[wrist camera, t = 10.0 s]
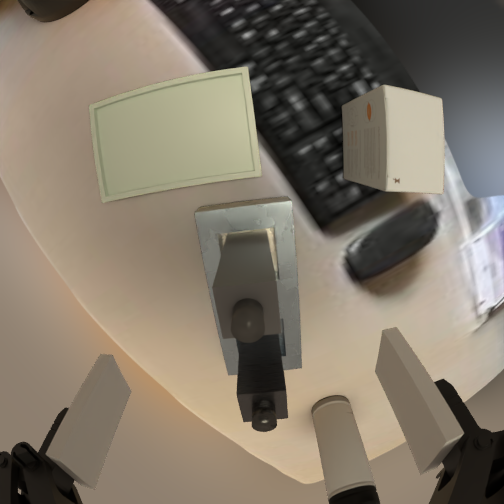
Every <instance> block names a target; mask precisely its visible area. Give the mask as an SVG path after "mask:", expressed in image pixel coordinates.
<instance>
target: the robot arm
mask: <svg viewBox="0 0 504 504" xmlns="http://www.w3.org/2000/svg"><path fill="white" fill-rule="evenodd" d="M86 1H88V0H18V2H19V3H20V5H21V6H22V8H23V9H24V10H25V12H26V13H27V14H28V15H29V16H30V17H32V18H34V19H36V20H38V21H41V22H49V21H54V20H57V19H59V18H61V17H64V16H66V15H67V14H69V13H71V12H73V11H74V10H76V9H77V8H79V7H80V6H81V5H83V4H84V3H85V2H86ZM375 372H376V374H377V376H378V378H379V381H380V383H381V385H382V387H383V389H384V391H385V393H386V395H387V398H388V400H389V402H390V404H391V406H392V409H393V411H394V413H395V415H396V417H397V420H398V422H399V424H400V427H401V429H402V431H403V433H404V436H405V438H406V440H407V443H408V445H409V448H410V450H411V452H412V454H413V457H414V459H415V462H416V465H417V467H418V470H419V472H420V474H421V475H422V474H424V473H427V472H429V471H431V470H434V469H436V468H437V467H438V466H439V465H440V463H441V462H442V463H443V465H444V468H443V469H442V470H441V471H440V472H439V473H438V475H437V476H436V478H439V477H440V478H439V481H438V483H437V486H436V488H435V491H434V493H433V495H432V498H431V500H430V502H429V504H504V430H503V431H498V432H493V433H492V432H491V431H489V430H486V429H481V428H480V427H479V426H478V425H477V423H476V421H475V420H474V418H473V417H472V415H471V413H470V412H469V410H468V409H467V407H466V406H465V404H464V402H462V399H461V398H460V396H459V395H458V393H457V392H456V390H455V389H454V387H453V386H452V385H451V384H450V383H449V382H447V381H446V380H444V379H441V380H439V381H436V382H433V380H432V379H431V377H430V376H429V374H428V372H427V371H426V369H425V368H424V366H423V365H422V363H421V362H420V360H419V359H418V357H417V356H416V354H415V353H414V351H413V350H412V348H411V347H410V346H409V344H408V343H407V341H406V340H405V338H404V337H403V335H402V334H401V333H400V331H399V330H398V328H397V327H395V328H390V329H386V330H382V337H381V343H380V348H379V354H378V359H377V364H376V369H375ZM130 394H131V390H130V388H129V386H128V384H127V383H126V381H125V379H124V377H123V375H122V373H121V372H120V369H119V368H118V365H117V363H116V361H115V359H114V357H113V355H107V354H101V355H100V356H99V357H98V359H97V361H96V362H95V364H94V366H93V367H92V369H91V371H90V372H89V374H88V376H87V378H86V379H85V381H84V383H83V384H82V386H81V388H80V390H79V391H78V393H77V395H76V397H75V399H74V400H73V402H72V404H71V406H70V407H69V408H64V409H63V410H62V411H61V412H60V413H59V414H58V416H57V418H56V419H55V421H54V424H53V425H52V427H51V430H50V431H49V432H48V434H47V436H46V438H45V440H44V442H43V444H42V446H41V448H40V450H39V452H38V453H37V452H36V451H35V450H34V449H33V448H32V447H31V446H30V445H29V444H28V443H26V442H20V443H18V444H16V445H15V446H14V447H13V449H12V452H11V455H10V454H9V453H8V452H4V451H3V452H0V504H83V503H82V501H81V499H80V496H79V494H78V491H77V489H76V487H75V485H74V484H73V483H74V480H75V481H77V482H78V483H79V484H80V485H82V486H84V487H87V488H90V489H93V490H95V488H96V485H97V482H98V479H99V476H100V473H101V470H102V468H103V465H104V462H105V459H106V456H107V453H108V450H109V448H110V445H111V442H112V439H113V437H114V434H115V432H116V429H117V427H118V424H119V421H120V419H121V416H122V413H123V411H124V409H125V406H126V404H127V401H128V398H129V396H130ZM18 488H19V489H21V495H20V494H19V493H18Z"/></svg>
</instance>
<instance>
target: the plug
mask: <svg viewBox="0 0 504 504" xmlns="http://www.w3.org/2000/svg"><path fill="white" fill-rule="evenodd" d="M212 290H213V295H214V300H215V304H216V309H217V314H218V319H219V323H220V328H221V332H222V337H223V339H229V338H236V339H237V340H239V341H241V342H245V343H251V342H255V341H257V340H259V339H260V338H261V337H262V336H263V335H270V334H279V333H281V325H280V313H279V302H278V292H277V281H276V276H275V270H274V265H273V260H272V255H271V250H270V244H269V239H268V234H267V230H260V231H251V232H243V233H235V234H227V237H226V240H225V244H224V247H223V251H222V254H221V258H220V261H219V265H218V268H217V272H216V275H215V279H214V283H213V286H212Z"/></svg>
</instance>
